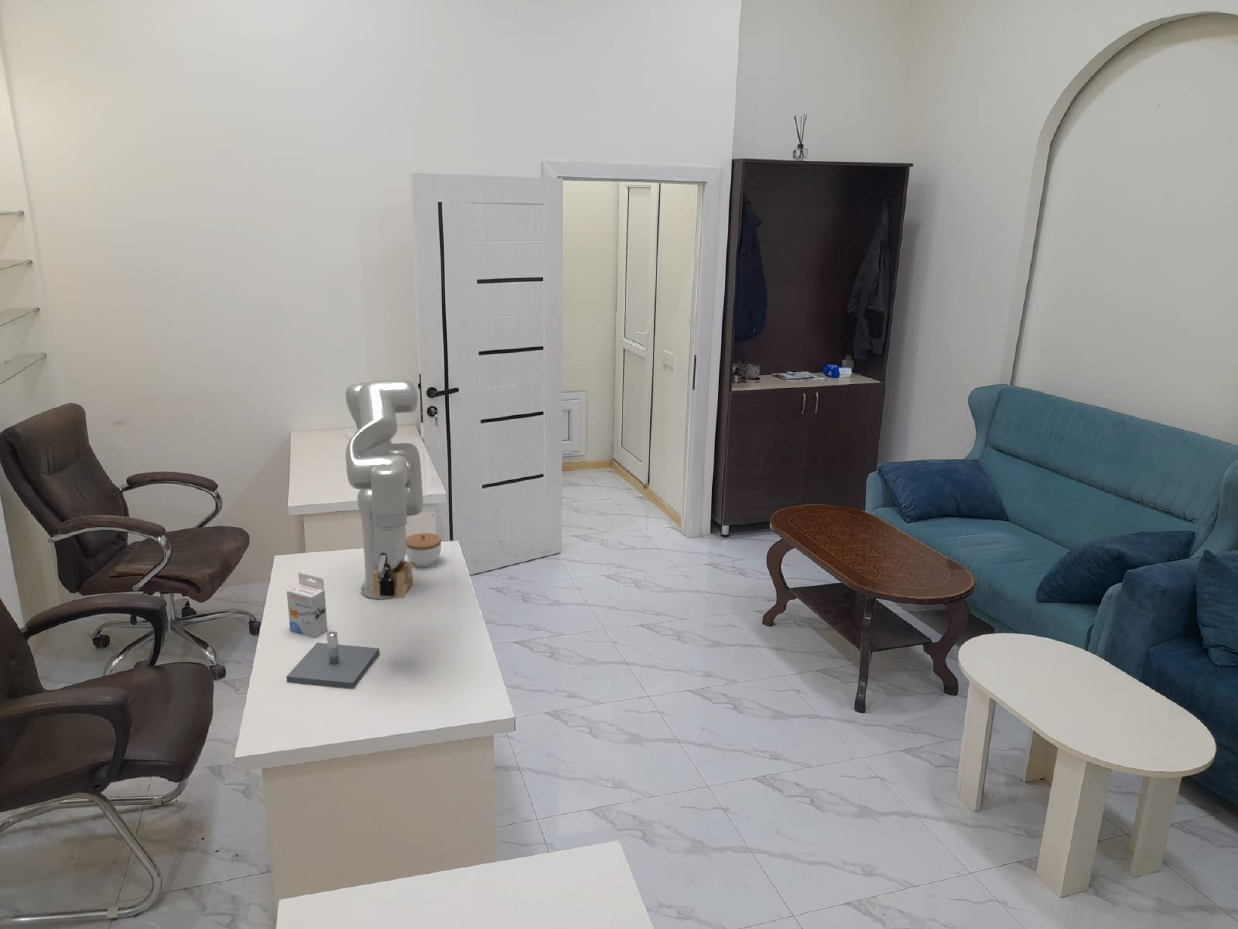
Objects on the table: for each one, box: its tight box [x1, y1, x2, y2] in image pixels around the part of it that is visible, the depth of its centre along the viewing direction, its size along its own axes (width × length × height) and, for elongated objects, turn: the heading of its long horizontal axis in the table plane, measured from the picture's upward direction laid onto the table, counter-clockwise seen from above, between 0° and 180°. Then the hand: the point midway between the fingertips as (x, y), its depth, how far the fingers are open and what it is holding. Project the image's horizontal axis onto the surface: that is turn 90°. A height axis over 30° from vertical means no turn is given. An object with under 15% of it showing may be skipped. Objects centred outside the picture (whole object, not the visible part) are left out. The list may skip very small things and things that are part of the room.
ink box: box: [286, 572, 328, 639], centre depth 227 cm, size 8×5×15 cm, turn 67°
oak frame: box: [373, 561, 414, 599], centre depth 209 cm, size 7×7×6 cm
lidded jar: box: [406, 532, 442, 568], centre depth 269 cm, size 11×11×9 cm
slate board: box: [285, 642, 380, 689], centre depth 212 cm, size 16×16×2 cm
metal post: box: [326, 631, 339, 665], centre depth 211 cm, size 2×2×8 cm
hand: (393, 587), depth 210 cm, fingers closed on oak frame, 7 cm apart
